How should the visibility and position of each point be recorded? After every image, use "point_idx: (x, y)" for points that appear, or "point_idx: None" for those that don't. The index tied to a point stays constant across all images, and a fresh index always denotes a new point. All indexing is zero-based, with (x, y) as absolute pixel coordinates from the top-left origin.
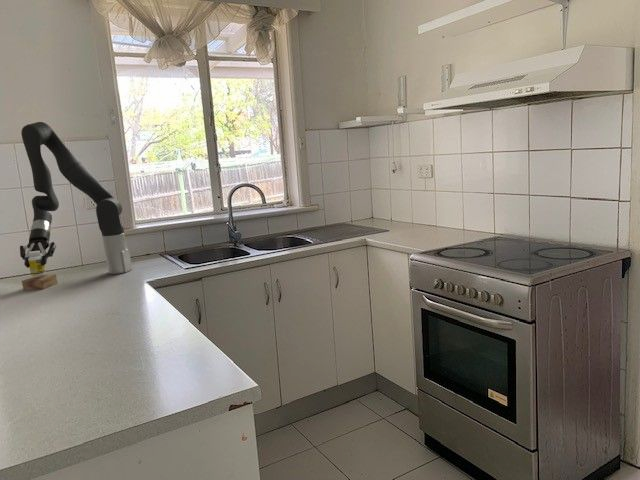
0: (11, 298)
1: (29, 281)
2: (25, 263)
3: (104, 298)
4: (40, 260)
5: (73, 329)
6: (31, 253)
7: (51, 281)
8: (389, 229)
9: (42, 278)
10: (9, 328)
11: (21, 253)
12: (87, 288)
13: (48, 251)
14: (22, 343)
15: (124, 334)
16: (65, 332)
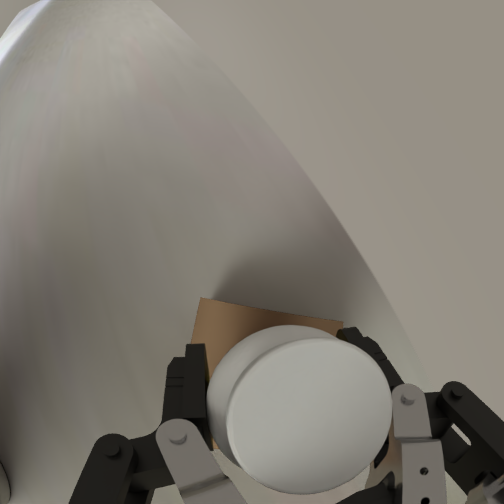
0: (299, 196)
1: (290, 314)
2: (367, 346)
3: (6, 118)
4: (215, 368)
5: (77, 24)
6: (324, 339)
7: None
8: None
9: (216, 339)
10: (165, 19)
11: (479, 411)
12: (17, 228)
13: (117, 468)
14: (131, 2)
15: (38, 26)
16: (86, 19)
